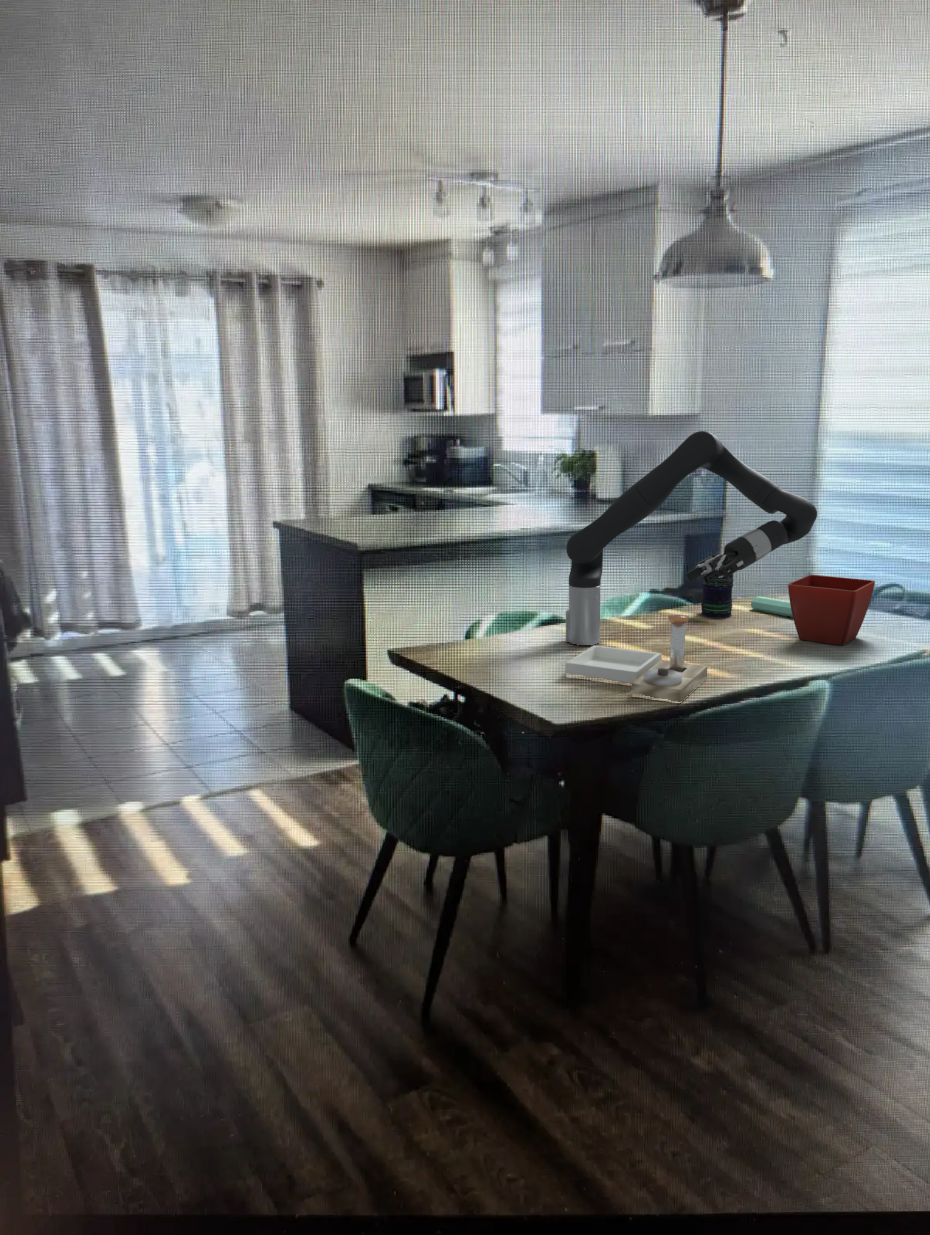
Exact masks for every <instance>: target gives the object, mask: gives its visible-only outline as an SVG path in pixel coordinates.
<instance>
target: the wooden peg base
mask: <svg viewBox="0 0 930 1235" xmlns="http://www.w3.org/2000/svg"><path fill="white" fill-rule="evenodd" d="M706 679H707V680H708V665H702V664H695V663H687V662H684V671H683V672H677V671H674V670H670V660H662V659H661V661H660V662H658V663H657V664H656V665H654V666H653V667H652V668H651V669H649V670H648V671H646V672H644V674H643V675H641V676H640V677H639V678H638V679H636V680H635V681H634V682H632V685H631V687H630V688H631V690H630V693H633V694H642V695H645V696H650V697H654V698H662V699H668V700H671V701H678V702H681V701H683V700H684V699H685V698H686V697H687V696H688V695H689V694H690V693H691V692H692V691H694V689H695V688H696V687H697V686H698V685H699V684H701V683H702V682H703V681H705V680H706ZM707 680H706V681H707ZM703 683H704V682H703ZM703 683H702V684H703ZM702 684H701V685H702ZM694 692H695V691H694ZM686 699H687V698H686ZM686 699H685V700H686ZM685 700H684V701H685ZM684 701H683V702H684Z"/></svg>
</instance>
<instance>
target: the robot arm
mask: <svg viewBox="0 0 930 1235" xmlns="http://www.w3.org/2000/svg"><path fill="white" fill-rule="evenodd" d="M700 468H701V469H705V470H706V471H709V472H711V473H713V474H715V475H717V476H718V477H720V478H722V479H723V480H725V481H726V482H727V483H729V484H730V485H731V486H733V487H734V488H735V489H736V490H737V491H739V493H741V495H743V496H744V497H745V498H747V499H748V500H749V501H750V502H752V503H753V504H754V505H755V506H757V507H759V508H760V509H761V510H763V511H764V512H765V513H767V514H770V515H772V514H773V515H774V514H775V513H777V512H780V513H782V514H784V515H785V517H784V518H783V519H782V520H780V521H778V520H773V519H772V520H770V521H767V522H766V523H765V522H764V524H762V525H760V526H758V527H756V528H754V529H752V530H749V531H747V532H746V533H744V534H741V535H740V536H738V537H737V538H735V539H733V540H731V541H729V542H728V543H726V544H725V545H724V548H723V554H722V553H720V554H717V555H716V554H714V553H713V554H710V555H709V556H708V557H706V558H704V559H702V560H699V561H698V562H696V563H695V564H694V566H695V567H694V568H692V569H690V570H689V571H687V572H686V573H685V574H684V575H685V579H686V580H687V581H688V582H691V581H693V580H695V579H697V578H699V577H700V576H701V581H702V580H703V581H702V582H704V584H708V583H710V582H712V581H714V580H715V579H717V578H718V577H719V578H722V577H723V576H724V577H728V576H730V575H731V574H733V575H734V573H737V572H739V571H742V570H744V569H746V568H747V567H749V566H751V565H753V564H755V563H756V562H758V561H759V560H761V559H763V558H764V557H766V556H767V555H768V554H770V553H771V552H774V551H775V550H776V549H778V548H780V547H782V546H783V545H787V544H790V543H793V542H796V541H798V540H800V539H803V538H804V537H805V536H807V535H808V534H809V533H810V531H811V530H812V528H813V526H814V524H815V522H816V519H817V518H818V511H817V508H816V506H815V505H814V504H813V503H812V502H811V501H810V500H808V499H806V498H805V497H803V496H800V495H797V494H795V493H792V492H790V491H787V490H785V489H782V488H781V487H780V486H779V485H777V484H776V483H774V481H772V480H770V479H769V478H767V477H766V476H764V475H763V474H761V473H760V472H758V471H757V470H755V469H753V468H752V467H749V466H748V465H747V464H745V463H744V462H743V461H741V460H740V459H739V458H738V457H736V456H735V455H734V454H733V453H732V452H731V450H729V449H728V448H727V447H726V446H725V444H724V443H723V442H722V441H721V439H720V438H718V436H716V435H714V434H713V433H711V432H710V431H707V430H700V431H696V432H693V433H692V434H690V435H689V436H688V437H687V438H685V440H684V441H683V442H681V444H680V445H679V446H677V448H676V449H675V450H674V451H673V452H672V453H671V454H670V455H669V456H668V457H667V458H666V459H665V460H664V461H662V462H661V463H660V464H658V465H657V466H656V467H654V468H653V469H652V470H650V471H649V472H648V473H646V474H645V475H644V476H643V477H641V478H640V479H639V480H637V481H636V482H635V483H634V484H632V485H631V486H630V487H629V488H628V489H627V490H625V491H624V492H623V493H622V494H621V495H619V497H617V499H616V500H614V501H613V503H612V504H611V505H610V506H609V507H607V509H606V510H605V511H604V512H603V513H602V514H601V515H600V516H599V517H597V519H595V520H594V521H592V522H590V523H589V524H588V525H586V526H585V527H584V528H582V529H579V530H578V531H577V532H574V533H573V534H572V535H571V536H570V537H569V539H568V540H567V543H566V548H565V549H566V554H567V557H568V558H569V559H570V561H571V562H570V565H571V566H570V571H569V574H568V609H567V610H565V611H566V612H565V643H566V642H570V643H574V644H578V645H577V646H579V645H591V646H593V645H592V644H596V645H598V644H597V643H599V644H600V643H601V590H602V588H601V584H602V583H601V582H602V575H603V566H604V565H603V562H604V561H603V560H604V548H606V547H607V546H608V545H609V544H610V543H611V542H612V541H613V540H614V539H616V538H617V537H618V536H619V535H621V534H623V533H625V532H626V531H628V530H629V529H632V528H633V527H634V526H636V525H637V524H639V523H641V522H642V521H643V520H644V519H647V517H649V516H650V515H651V514H653V513H654V511H656V510H657V509H658V508H659V507H660V506H662V505H663V504H664V503H665V501H666V500H667V499H668V498H669V496H671V494H672V492H673V491H674V490H675V488H676V487H677V486H678V485H679V484H680V482H681V481H683V480H684V479H685V478H687V477H688V476H689V475H691V474H692V473H693V472H695V471H696V470H697V469H700ZM711 568H712V569H711ZM729 571H730V572H729ZM705 573H707V574H705ZM703 574H705V575H703ZM570 643H569V644H570Z"/></svg>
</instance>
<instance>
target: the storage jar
mask: <svg viewBox="0 0 930 1235" xmlns="http://www.w3.org/2000/svg"><path fill="white" fill-rule="evenodd" d="M711 569H712V567H711ZM729 572H730V571H729ZM705 574H707V573H705ZM705 574H703V575H705ZM703 575H702V576H703ZM734 580H735V579H734V573H733V574H731V575H730V576H728V577H724V576H723V577H722V578H719V577H718V578H717V579H715V580H714V581H712V582H710V583H708V584H704V582H703V580H702V579H701V581H702V584H701V585H702V598H701V603H700V604H701V605H700V607H701V608H700V609H701V614H700V616H702V617H705V618H709V619H727V618H730V617H732V611H733V610H732V609H733V595H732V594H733V587H734Z"/></svg>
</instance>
